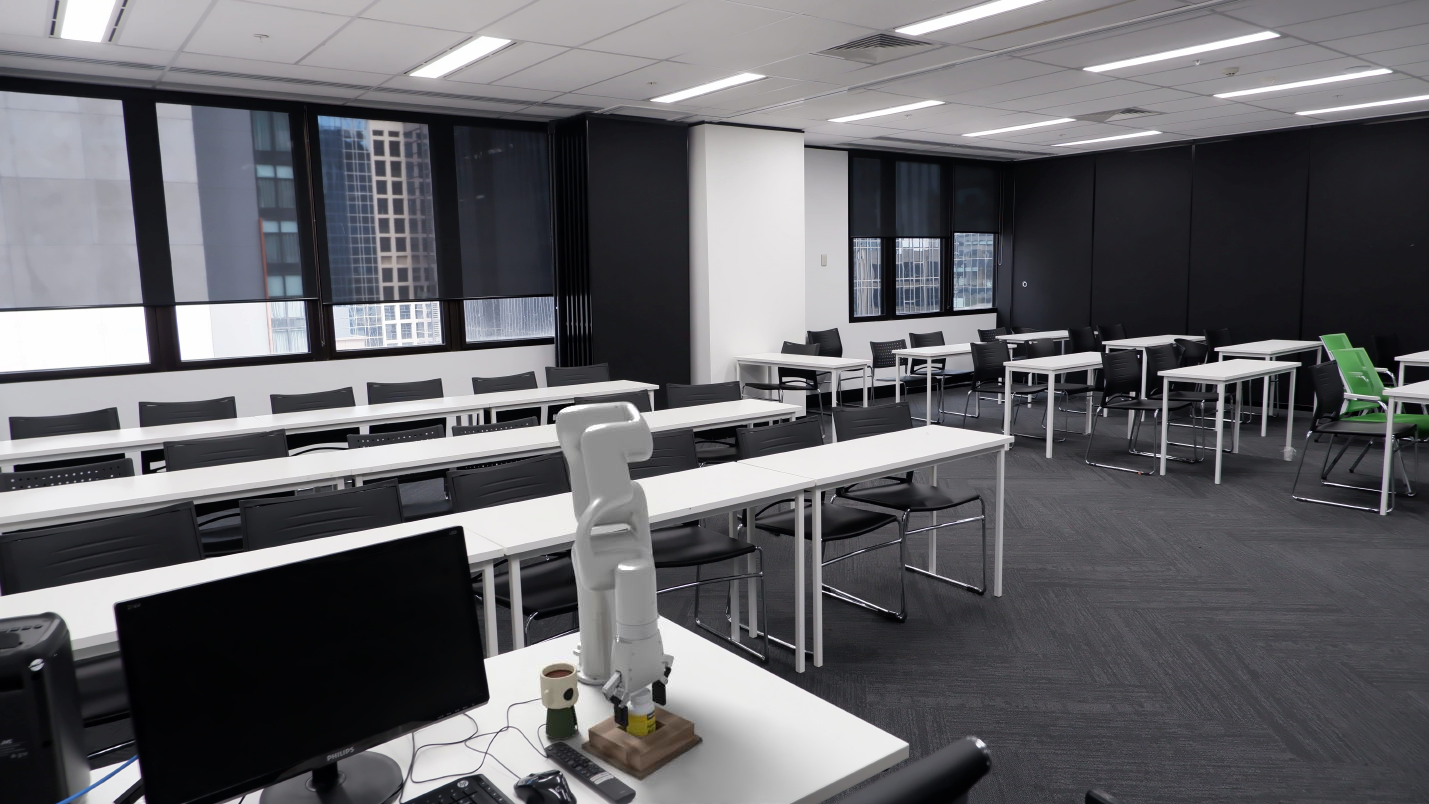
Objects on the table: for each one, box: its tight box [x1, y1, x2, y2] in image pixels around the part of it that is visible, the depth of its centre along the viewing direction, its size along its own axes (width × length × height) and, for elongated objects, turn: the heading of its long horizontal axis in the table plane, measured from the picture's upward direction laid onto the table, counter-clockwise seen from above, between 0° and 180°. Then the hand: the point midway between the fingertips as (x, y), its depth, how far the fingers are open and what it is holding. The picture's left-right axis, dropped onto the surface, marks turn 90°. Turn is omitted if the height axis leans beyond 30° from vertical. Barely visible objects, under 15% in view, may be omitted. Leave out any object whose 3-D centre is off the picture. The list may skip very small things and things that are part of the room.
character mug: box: [539, 662, 580, 740], centre depth 165 cm, size 11×7×13 cm, turn 163°
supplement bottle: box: [625, 686, 656, 739], centre depth 160 cm, size 5×5×10 cm
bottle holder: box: [581, 705, 703, 781], centre depth 161 cm, size 16×16×4 cm
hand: (640, 713), depth 160 cm, fingers open, 9 cm apart
